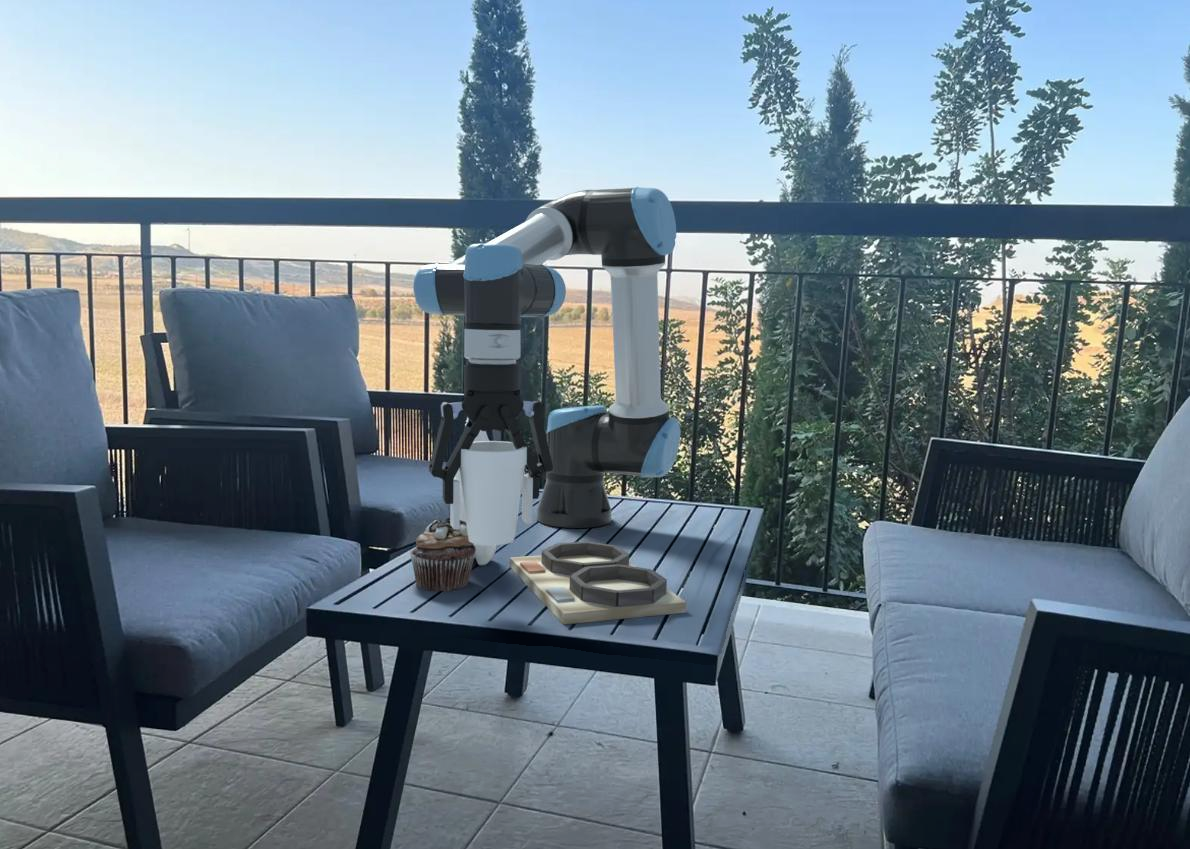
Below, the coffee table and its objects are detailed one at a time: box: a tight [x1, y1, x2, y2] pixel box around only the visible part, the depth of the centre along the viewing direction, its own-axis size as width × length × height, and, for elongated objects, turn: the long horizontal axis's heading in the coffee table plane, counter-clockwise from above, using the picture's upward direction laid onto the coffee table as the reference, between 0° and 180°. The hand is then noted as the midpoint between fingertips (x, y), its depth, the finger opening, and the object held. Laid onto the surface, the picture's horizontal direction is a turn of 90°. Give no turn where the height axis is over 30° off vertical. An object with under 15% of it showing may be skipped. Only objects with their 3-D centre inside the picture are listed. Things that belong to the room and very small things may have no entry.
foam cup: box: [459, 440, 527, 547], centre depth 117 cm, size 10×9×13 cm
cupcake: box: [410, 517, 476, 592], centre depth 128 cm, size 10×10×10 cm
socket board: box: [509, 541, 687, 625], centre depth 129 cm, size 28×18×4 cm, turn 20°
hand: (491, 524), depth 117 cm, fingers closed on foam cup, 9 cm apart
